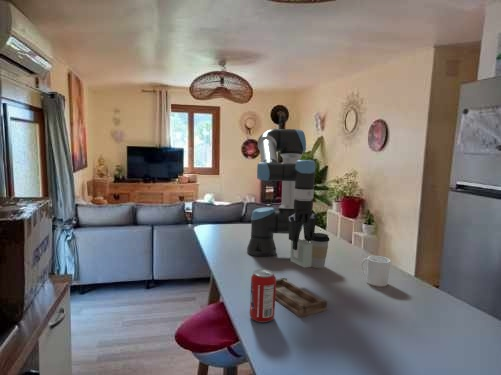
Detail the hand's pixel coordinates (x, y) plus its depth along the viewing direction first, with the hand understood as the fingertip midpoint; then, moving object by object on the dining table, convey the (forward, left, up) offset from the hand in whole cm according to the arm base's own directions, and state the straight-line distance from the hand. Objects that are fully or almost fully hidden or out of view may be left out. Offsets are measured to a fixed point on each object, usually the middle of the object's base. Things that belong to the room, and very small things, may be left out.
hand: (300, 256), depth 139 cm
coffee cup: (-13, +21, -11) cm, 27 cm away
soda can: (+18, -29, -11) cm, 36 cm away
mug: (+13, +29, -11) cm, 34 cm away
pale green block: (0, 0, -3) cm, 3 cm away
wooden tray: (+11, -12, -11) cm, 20 cm away
